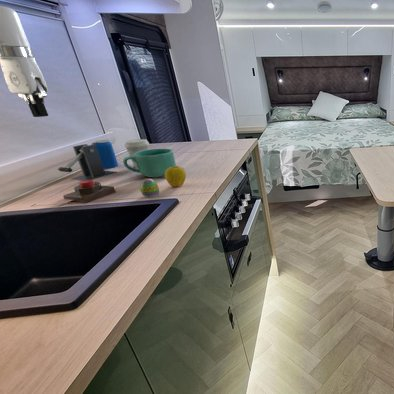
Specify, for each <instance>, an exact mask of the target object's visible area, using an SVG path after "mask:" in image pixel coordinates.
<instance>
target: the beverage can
mask: <svg viewBox="0 0 394 394" xmlns="http://www.w3.org/2000/svg"><path fill="white" fill-rule="evenodd" d="M91 145H96V148H97V151H98V154H99V157H100V160H101V163H102V166H103V169H104V170H108V169H113V168H118V167H119V163H118V159H117V156H116V153H115V150H114V146H113V144H112V142H111V141H110V140H109V139H101V140H93V141H92V142H91Z"/></svg>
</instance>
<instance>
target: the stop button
mask: <svg viewBox="0 0 394 394" xmlns="http://www.w3.org/2000/svg"><path fill="white" fill-rule="evenodd" d="M94 182H95V181H94V179H93V180H79V182H78V185H79V186H80V188H86V187H91V186H94V185H95V184H94Z"/></svg>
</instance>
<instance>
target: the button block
mask: <svg viewBox="0 0 394 394" xmlns="http://www.w3.org/2000/svg"><path fill="white" fill-rule="evenodd" d="M94 184H95V185H94V186H91V187H86V188H80V186H79V184H77V185H76V186H74V187H73V190H74V191H72V192H69V193H66V194H63V195H62V196H63V199H64V200H70V201H68V203H74V204H75V203H76V204H84V205H85V204H88V203H90V202H93V201H96V200H98V199H101V198H104V197H108V196H110V195H112V194H115V193H116V192H117V191H116V189H115V186H112V185H103V184H102V183H101V182H99V181H94Z"/></svg>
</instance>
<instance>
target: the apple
mask: <svg viewBox="0 0 394 394" xmlns="http://www.w3.org/2000/svg"><path fill="white" fill-rule="evenodd" d="M164 178H165V180H166V182H167V184H169V185H170V186H171V187H181V186H183V185H184V183H185V181H186V178H187V173H186V171H185V169H184V168H183V167H182V166H179V165H176V166H172V167H169V168H167V169H166V171H165V176H164Z"/></svg>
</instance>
